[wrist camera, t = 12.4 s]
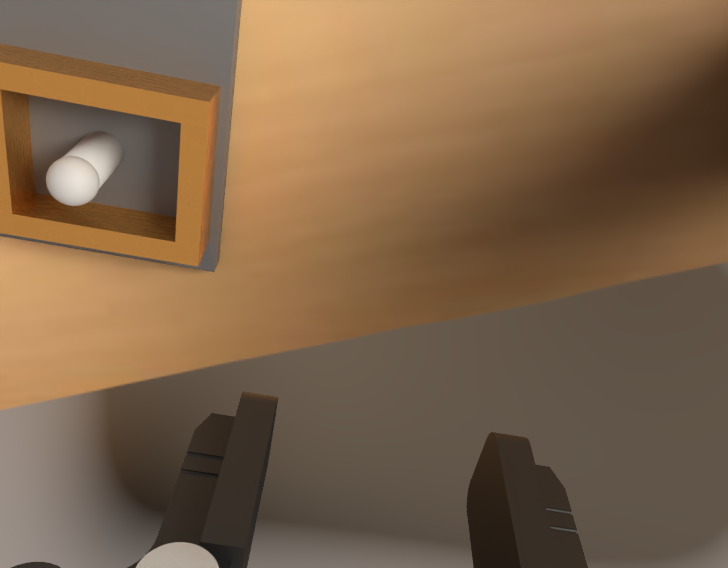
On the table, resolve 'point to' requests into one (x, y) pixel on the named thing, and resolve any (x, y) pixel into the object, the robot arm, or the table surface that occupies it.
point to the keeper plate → (118, 129)
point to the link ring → (119, 93)
